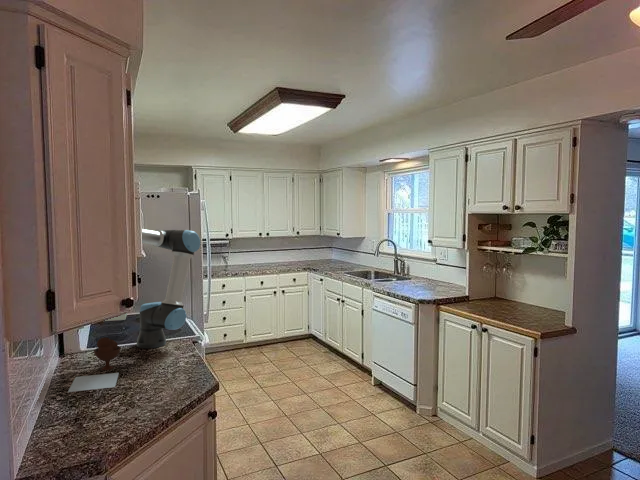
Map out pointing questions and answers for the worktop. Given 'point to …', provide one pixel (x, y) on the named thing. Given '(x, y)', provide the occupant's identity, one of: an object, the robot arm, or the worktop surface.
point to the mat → (94, 382)
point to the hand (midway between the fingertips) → (107, 304)
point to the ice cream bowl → (106, 351)
